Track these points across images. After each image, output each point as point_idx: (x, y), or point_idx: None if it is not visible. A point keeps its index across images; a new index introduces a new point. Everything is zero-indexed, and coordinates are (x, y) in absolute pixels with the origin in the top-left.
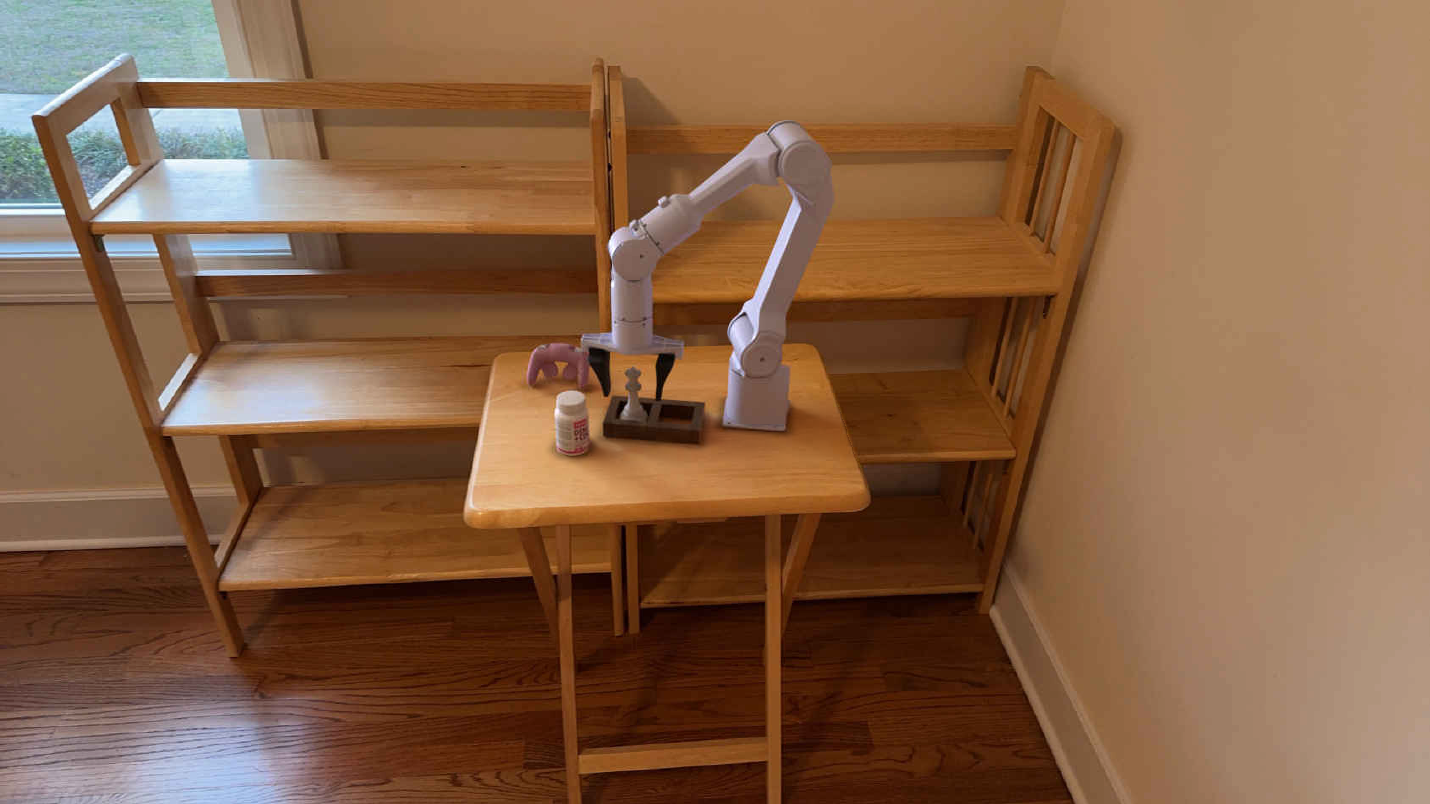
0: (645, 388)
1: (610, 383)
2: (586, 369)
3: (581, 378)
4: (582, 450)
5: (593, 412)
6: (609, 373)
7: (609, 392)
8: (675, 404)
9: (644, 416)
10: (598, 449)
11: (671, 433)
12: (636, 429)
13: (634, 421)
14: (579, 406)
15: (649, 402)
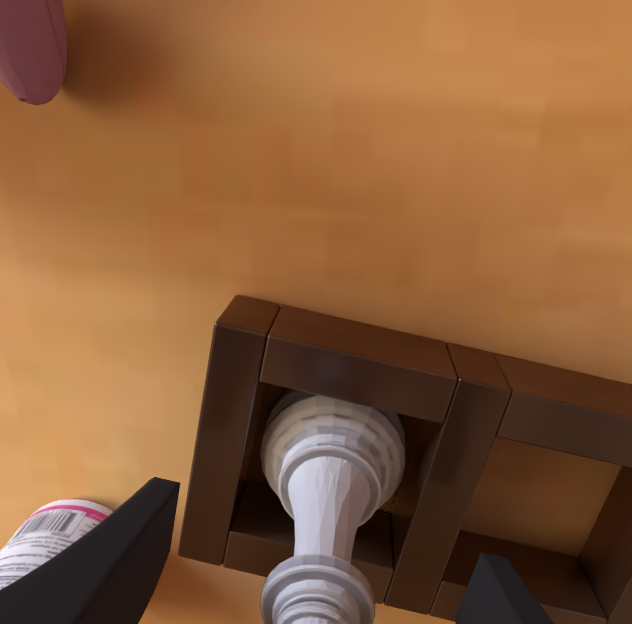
0: (430, 82)
1: (161, 519)
2: (7, 2)
3: (5, 79)
4: None
5: (142, 313)
6: (124, 570)
7: (171, 523)
8: (573, 450)
9: (385, 496)
10: (186, 570)
11: None
12: None
13: None
14: None
15: (425, 417)
